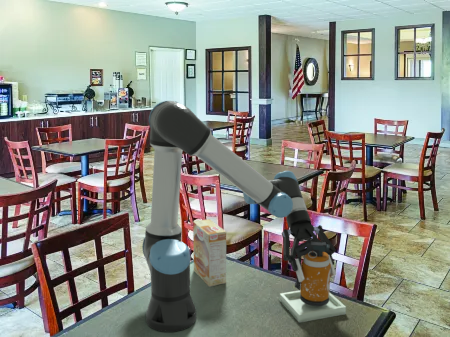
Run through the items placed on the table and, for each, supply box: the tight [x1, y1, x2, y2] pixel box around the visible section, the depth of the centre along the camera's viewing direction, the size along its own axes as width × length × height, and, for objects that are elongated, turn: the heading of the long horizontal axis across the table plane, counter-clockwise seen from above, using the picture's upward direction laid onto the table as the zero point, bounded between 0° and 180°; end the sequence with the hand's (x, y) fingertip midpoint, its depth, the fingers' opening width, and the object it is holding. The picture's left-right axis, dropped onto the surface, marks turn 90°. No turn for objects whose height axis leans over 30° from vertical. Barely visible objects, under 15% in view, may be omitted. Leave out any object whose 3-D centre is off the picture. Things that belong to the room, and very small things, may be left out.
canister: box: [294, 240, 331, 306], centre depth 144 cm, size 9×11×20 cm
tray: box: [279, 289, 347, 324], centre depth 146 cm, size 16×14×2 cm
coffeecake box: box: [192, 218, 227, 287], centre depth 166 cm, size 15×7×20 cm, turn 25°
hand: (317, 278), depth 141 cm, fingers closed on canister, 10 cm apart
